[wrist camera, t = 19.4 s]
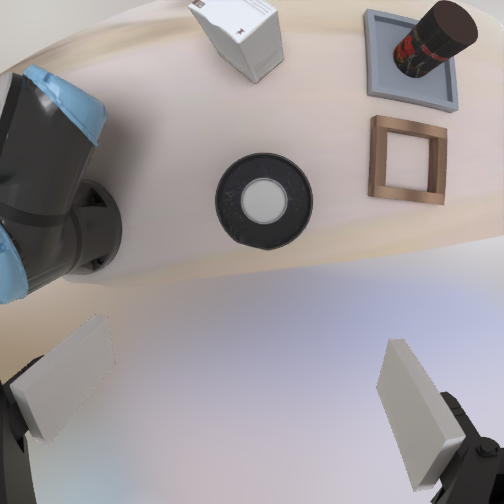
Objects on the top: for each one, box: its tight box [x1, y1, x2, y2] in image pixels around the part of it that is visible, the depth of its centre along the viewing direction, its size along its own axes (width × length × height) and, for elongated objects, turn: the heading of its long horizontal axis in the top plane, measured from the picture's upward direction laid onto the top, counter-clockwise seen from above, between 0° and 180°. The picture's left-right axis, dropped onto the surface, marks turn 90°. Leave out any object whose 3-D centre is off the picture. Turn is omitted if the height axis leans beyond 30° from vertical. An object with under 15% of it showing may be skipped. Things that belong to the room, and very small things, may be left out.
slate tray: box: [363, 9, 458, 113], centre depth 35 cm, size 14×14×2 cm
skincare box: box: [188, 0, 284, 84], centre depth 32 cm, size 8×6×15 cm
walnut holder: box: [368, 115, 447, 205], centre depth 39 cm, size 11×11×3 cm
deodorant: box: [393, 0, 478, 78], centre depth 28 cm, size 6×6×15 cm
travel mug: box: [215, 153, 313, 250], centre depth 33 cm, size 8×8×20 cm
